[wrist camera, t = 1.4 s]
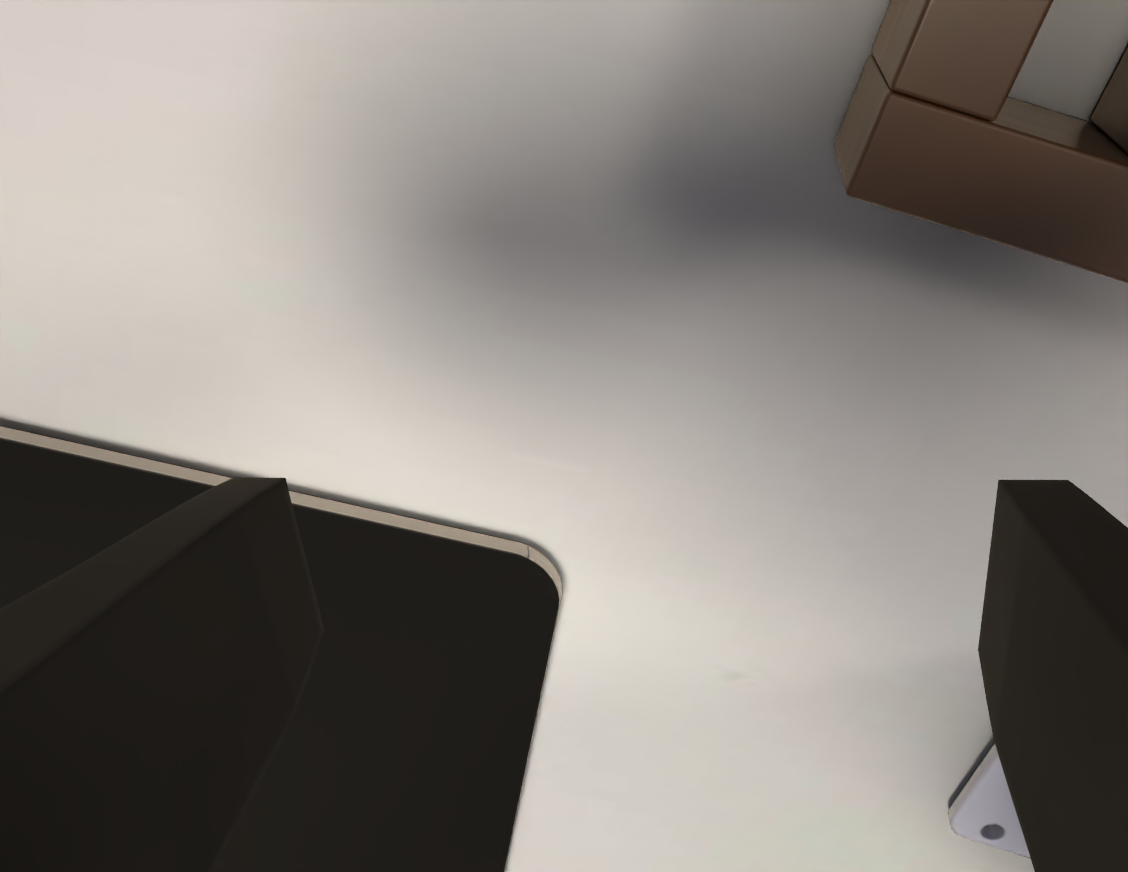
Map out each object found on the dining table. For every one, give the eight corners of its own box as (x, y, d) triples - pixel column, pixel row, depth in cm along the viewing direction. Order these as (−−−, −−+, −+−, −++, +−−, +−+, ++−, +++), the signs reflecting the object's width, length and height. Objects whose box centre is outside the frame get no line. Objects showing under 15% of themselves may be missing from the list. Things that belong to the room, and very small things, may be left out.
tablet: (-335, 862, 35) (-575, 309, 24) (-316, 845, 35) (-543, 298, 25) (465, 1060, 33) (567, 565, 23) (469, 1039, 34) (572, 547, 24)
